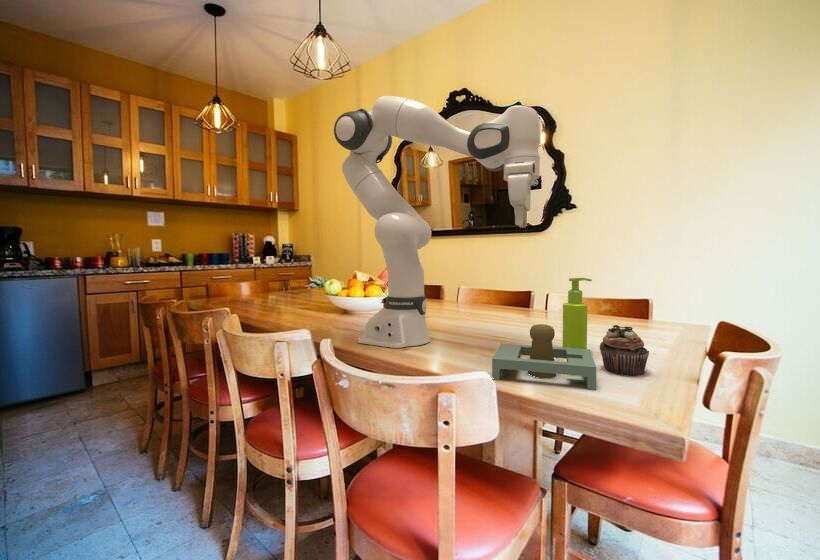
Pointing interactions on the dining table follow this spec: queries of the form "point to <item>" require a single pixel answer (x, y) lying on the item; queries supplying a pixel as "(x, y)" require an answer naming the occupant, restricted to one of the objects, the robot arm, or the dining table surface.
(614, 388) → the dining table surface
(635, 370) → the cupcake
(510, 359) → the grey-green slotted stand
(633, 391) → the dining table surface
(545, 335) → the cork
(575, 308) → the soap dispenser
